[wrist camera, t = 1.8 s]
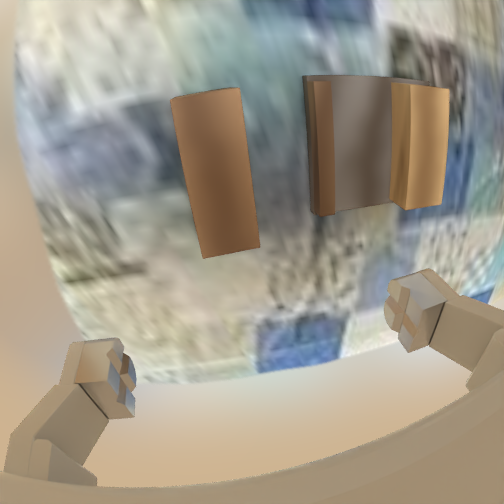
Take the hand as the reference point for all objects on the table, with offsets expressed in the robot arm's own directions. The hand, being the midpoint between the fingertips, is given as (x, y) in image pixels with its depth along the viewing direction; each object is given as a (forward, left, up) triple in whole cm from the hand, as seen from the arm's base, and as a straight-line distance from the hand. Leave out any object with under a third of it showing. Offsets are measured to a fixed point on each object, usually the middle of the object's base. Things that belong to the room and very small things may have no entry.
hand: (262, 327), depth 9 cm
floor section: (-15, 0, -20) cm, 25 cm away
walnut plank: (0, 0, -20) cm, 20 cm away
